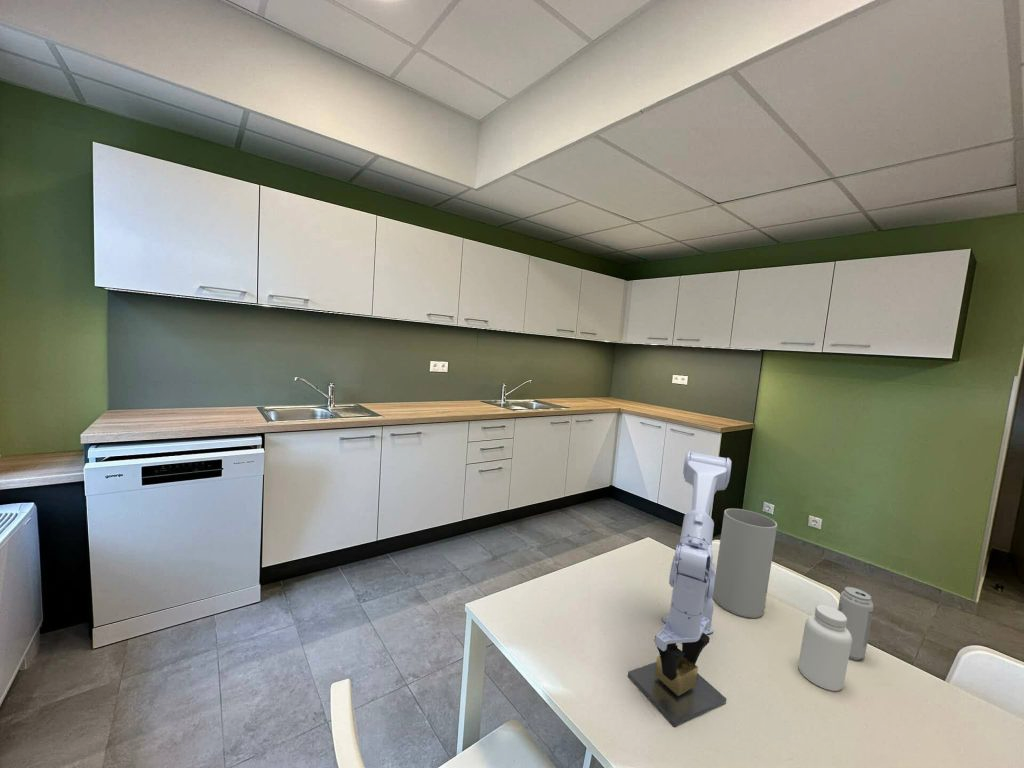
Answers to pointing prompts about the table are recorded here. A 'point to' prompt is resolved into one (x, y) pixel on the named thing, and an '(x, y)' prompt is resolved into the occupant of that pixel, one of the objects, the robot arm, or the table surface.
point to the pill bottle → (825, 648)
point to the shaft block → (676, 696)
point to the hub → (679, 676)
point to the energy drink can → (857, 618)
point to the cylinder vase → (744, 562)
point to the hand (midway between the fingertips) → (677, 671)
